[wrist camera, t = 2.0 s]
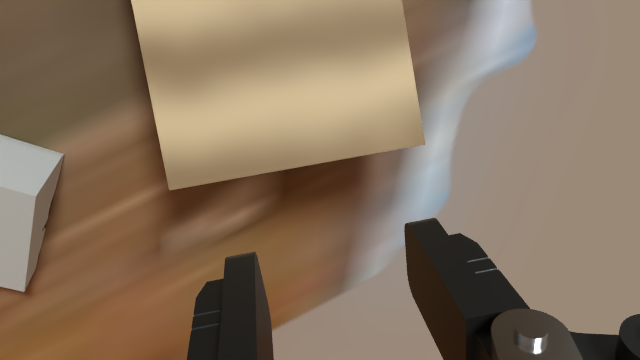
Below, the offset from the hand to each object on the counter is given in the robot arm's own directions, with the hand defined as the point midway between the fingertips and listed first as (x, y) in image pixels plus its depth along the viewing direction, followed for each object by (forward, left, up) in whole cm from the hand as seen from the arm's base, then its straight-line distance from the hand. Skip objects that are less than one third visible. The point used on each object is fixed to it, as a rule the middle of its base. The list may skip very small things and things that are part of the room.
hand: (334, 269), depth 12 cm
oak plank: (-2, 0, -19) cm, 19 cm away
